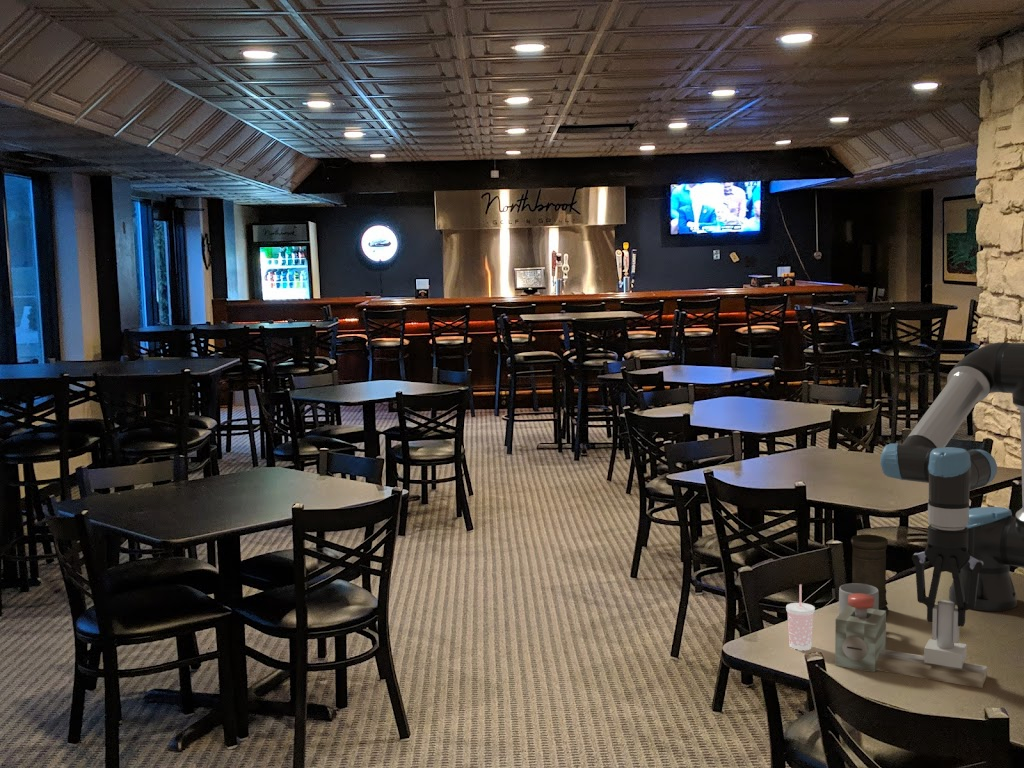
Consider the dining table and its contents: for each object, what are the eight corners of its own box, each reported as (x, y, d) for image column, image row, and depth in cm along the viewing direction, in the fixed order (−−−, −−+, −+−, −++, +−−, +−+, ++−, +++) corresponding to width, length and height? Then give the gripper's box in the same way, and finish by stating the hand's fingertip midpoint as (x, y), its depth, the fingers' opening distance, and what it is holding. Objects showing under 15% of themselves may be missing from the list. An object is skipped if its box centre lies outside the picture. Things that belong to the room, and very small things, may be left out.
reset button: (876, 620, 218) (876, 595, 217) (870, 628, 213) (871, 602, 213) (851, 617, 220) (851, 592, 220) (845, 624, 216) (845, 598, 215)
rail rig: (987, 673, 209) (989, 625, 208) (980, 691, 200) (981, 642, 199) (846, 649, 224) (847, 605, 223) (834, 666, 215) (834, 619, 214)
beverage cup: (787, 640, 230) (787, 579, 229) (815, 643, 228) (816, 581, 227) (784, 650, 225) (784, 587, 223) (813, 653, 223) (814, 590, 221)
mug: (867, 645, 226) (868, 597, 225) (831, 636, 232) (832, 589, 231) (891, 631, 234) (892, 584, 233) (856, 622, 240) (856, 577, 239)
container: (873, 620, 242) (874, 545, 240) (841, 610, 249) (842, 537, 247) (896, 612, 247) (897, 538, 245) (863, 602, 254) (864, 531, 252)
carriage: (966, 658, 209) (967, 601, 208) (961, 668, 204) (962, 609, 203) (929, 652, 213) (930, 596, 212) (924, 662, 208) (925, 604, 207)
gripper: (995, 525, 205) (991, 640, 207) (908, 517, 213) (906, 627, 216) (990, 534, 198) (987, 652, 201) (901, 525, 207) (899, 638, 209)
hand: (945, 639), depth 208 cm, fingers closed on carriage, 3 cm apart
